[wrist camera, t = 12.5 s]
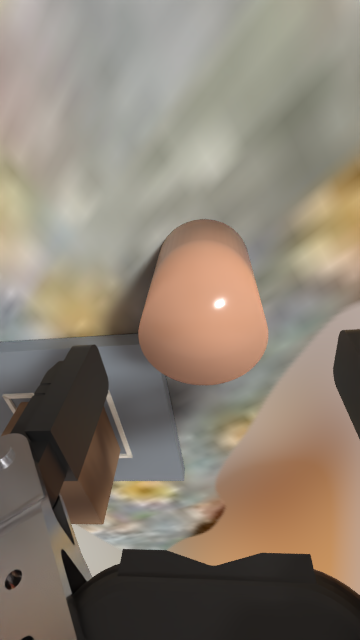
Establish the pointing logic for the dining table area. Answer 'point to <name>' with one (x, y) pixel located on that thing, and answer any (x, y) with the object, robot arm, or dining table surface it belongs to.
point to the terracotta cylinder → (203, 307)
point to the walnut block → (88, 473)
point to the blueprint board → (120, 405)
